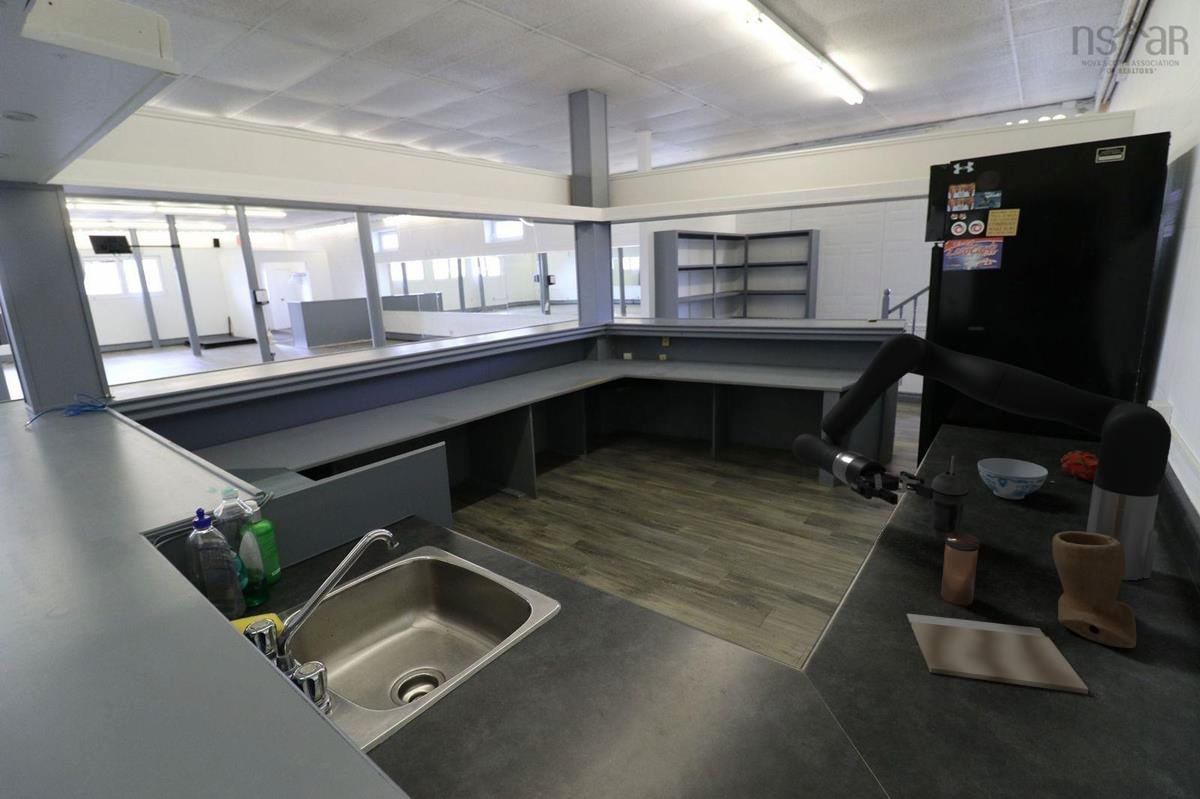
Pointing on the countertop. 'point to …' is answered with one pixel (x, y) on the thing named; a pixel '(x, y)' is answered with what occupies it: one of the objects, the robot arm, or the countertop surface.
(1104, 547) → the brown hollow flared piece
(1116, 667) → the countertop surface
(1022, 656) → the board
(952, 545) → the canister
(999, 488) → the chinaware
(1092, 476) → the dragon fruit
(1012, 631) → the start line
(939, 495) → the beverage cup
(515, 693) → the countertop surface
